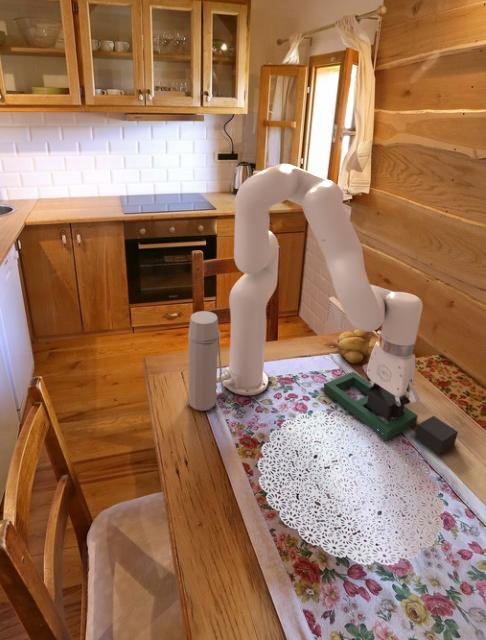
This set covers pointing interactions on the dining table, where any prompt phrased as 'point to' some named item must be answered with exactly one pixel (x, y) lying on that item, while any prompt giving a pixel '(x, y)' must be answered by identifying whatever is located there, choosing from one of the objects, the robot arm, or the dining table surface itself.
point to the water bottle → (203, 360)
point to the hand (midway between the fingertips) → (384, 406)
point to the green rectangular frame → (361, 408)
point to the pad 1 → (381, 402)
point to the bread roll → (354, 345)
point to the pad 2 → (436, 435)
